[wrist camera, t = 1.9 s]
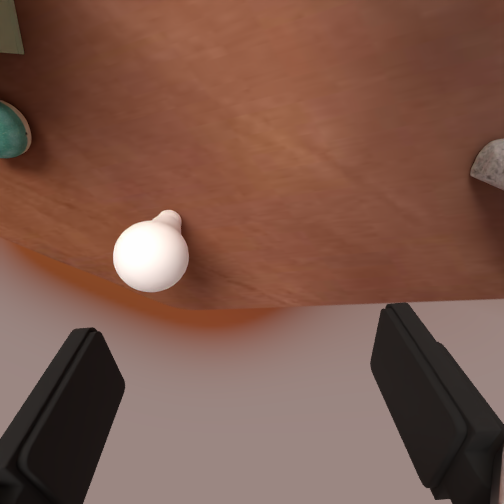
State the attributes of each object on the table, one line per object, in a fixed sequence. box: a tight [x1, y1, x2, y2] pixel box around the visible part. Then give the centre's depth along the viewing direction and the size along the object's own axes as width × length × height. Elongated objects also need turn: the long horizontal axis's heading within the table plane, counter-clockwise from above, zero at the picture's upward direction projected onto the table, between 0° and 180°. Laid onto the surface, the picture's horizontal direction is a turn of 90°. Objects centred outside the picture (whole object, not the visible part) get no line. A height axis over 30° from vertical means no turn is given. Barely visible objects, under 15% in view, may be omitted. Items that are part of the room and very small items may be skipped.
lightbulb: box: [113, 210, 189, 292], centre depth 27 cm, size 6×6×11 cm
